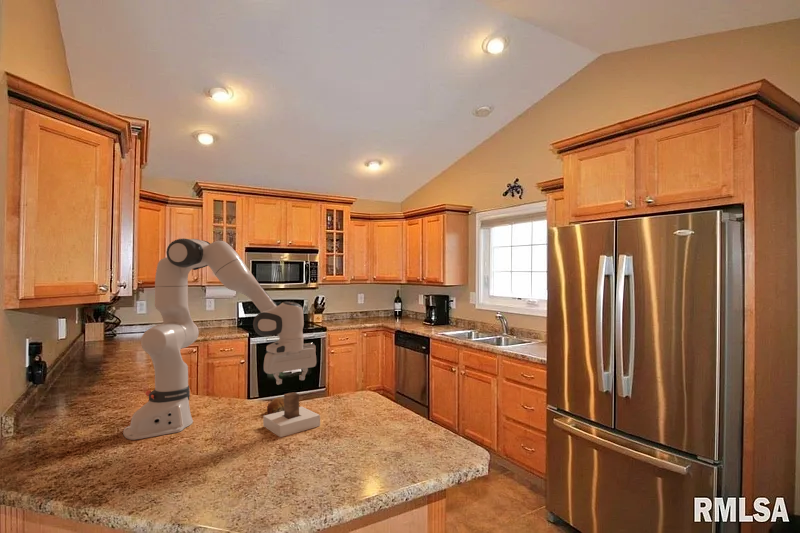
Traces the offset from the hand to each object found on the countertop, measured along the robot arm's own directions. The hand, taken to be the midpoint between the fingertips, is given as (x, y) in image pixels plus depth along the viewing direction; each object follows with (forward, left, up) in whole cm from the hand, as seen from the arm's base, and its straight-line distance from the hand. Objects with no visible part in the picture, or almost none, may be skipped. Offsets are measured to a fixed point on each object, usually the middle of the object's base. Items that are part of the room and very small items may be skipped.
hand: (290, 382), depth 158 cm
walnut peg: (0, 0, -17) cm, 17 cm away
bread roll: (+4, +17, -17) cm, 24 cm away
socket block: (0, 0, -17) cm, 17 cm away
